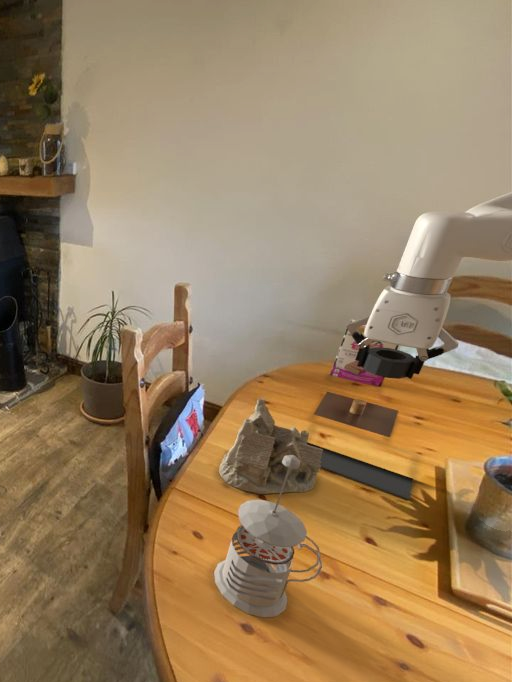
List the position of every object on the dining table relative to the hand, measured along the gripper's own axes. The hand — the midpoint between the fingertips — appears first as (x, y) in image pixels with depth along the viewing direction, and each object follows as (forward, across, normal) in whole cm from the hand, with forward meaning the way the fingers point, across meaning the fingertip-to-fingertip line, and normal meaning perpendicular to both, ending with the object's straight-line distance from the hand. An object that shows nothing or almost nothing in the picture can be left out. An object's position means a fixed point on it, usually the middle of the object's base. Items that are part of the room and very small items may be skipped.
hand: (384, 369), depth 84 cm
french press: (+18, -3, -52) cm, 55 cm away
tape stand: (+18, -2, +11) cm, 21 cm away
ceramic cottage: (+18, -10, -24) cm, 32 cm away
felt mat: (+18, +1, -6) cm, 19 cm away
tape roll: (0, 0, 0) cm, 0 cm away
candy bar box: (+18, -5, +31) cm, 36 cm away
